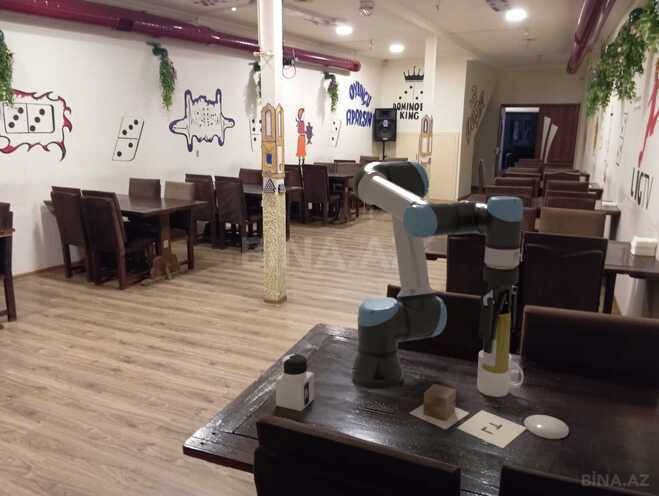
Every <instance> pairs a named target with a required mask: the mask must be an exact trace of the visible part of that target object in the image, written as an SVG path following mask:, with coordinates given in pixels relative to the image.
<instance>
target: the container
mask: <svg viewBox="0 0 659 496" xmlns="http://www.w3.org/2000/svg"><path fill="white" fill-rule="evenodd" d="M281 360H282V361H281V362H282V363H281V365H282V369H281V370H282V373H281V374H280V375H279V376H278V377H276V379H275V402H276V403H275V404H276V405H275V406H277V407H281V408H285V409H288V410H289V409H290V410H292V411H293V410H294V411H298V412H302V411H303V410H304V409H305V408H306V407H307V406H308V405H309V404H311V402H313V401H314V399H315V373H314V372H311V371H308V359H307V357H306V356H305V355H304V354H303V355H302V354H299V353H292V354H288V355H285V356H284V357H282V359H281Z"/></svg>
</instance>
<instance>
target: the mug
mask: <svg viewBox="0 0 659 496" xmlns="http://www.w3.org/2000/svg"><path fill="white" fill-rule="evenodd" d="M483 350H484V349H482V350H480V351H479V352H478V362H477V363H478V365H477V366H478V367H477V379H476V380H477V383H476V385H477V389H478V391H479V392H480V393H481V394H483V395H485V396H488V397H489V396H490V397H494V398H495V397H496V398H498V397H504V396H507V395H508V394H509V393H510V390H516V389H518V388H519V387H521V385H522V384H523V381H524V377H525V376H524V375H525V374H524V372H523V369H522V367H521V366H520V365H518V364H517V363H516V362H514V361H512V354H510V353H509V360H508V366H509V371H507V372H506V373H502V374H496V373H491V372H488V371H486V370H484V369H483V368H482V363H483ZM512 369H514V370H517V372H519V373H520V375H521V378H520V379H521V380H520V381H519V382H518V383H513V382H511V371H512Z"/></svg>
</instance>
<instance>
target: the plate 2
mask: <svg viewBox="0 0 659 496" xmlns="http://www.w3.org/2000/svg"><path fill="white" fill-rule="evenodd" d="M456 429H458V430H461V431H462V432H465V433H467V434H469V435H472V436H474V437H476V438H479V439H481V440H483V441H485V442H488V443H490V444H492V445H494V446H497V447H499V448H501V449H504V448H505V447H506V446H508V445H509V444H510V443H511V442H512V441H513V440H514V439H516V437H518V436H519V435H520V434H521V433H524V432H525V431H527V428H526V426H523V425H520V424H518V423H515V422H513V421H511V420H508V419H505V418H503V417H501V416H499V415H495V414H493V413H490V412H488V411H486V410H480V411H479V412H477V413H475V415H473V416H471V417H470V418H469V419H467V420H466V421H465V422H463V423H462V424H460V425H459V426H458V427H456Z"/></svg>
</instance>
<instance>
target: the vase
mask: <svg viewBox="0 0 659 496" xmlns="http://www.w3.org/2000/svg"><path fill="white" fill-rule="evenodd" d="M507 311H508V312H507V313H505V314H503V313H501V312H500V314H499V319H498V324H497V329H496V334H495V338H494V339H497V342H496V358H495V366H494V367H492V366H489V365H486V364H483V363H482V368H483V369H484V370H486V371H488V372H491V373H496V374H502V373H506V372H507V371H509V366H508V360H509V354H510V341H511V340H510V336H511V331H510V320H511V312H510V311H509V310H507ZM511 321H512V320H511Z"/></svg>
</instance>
